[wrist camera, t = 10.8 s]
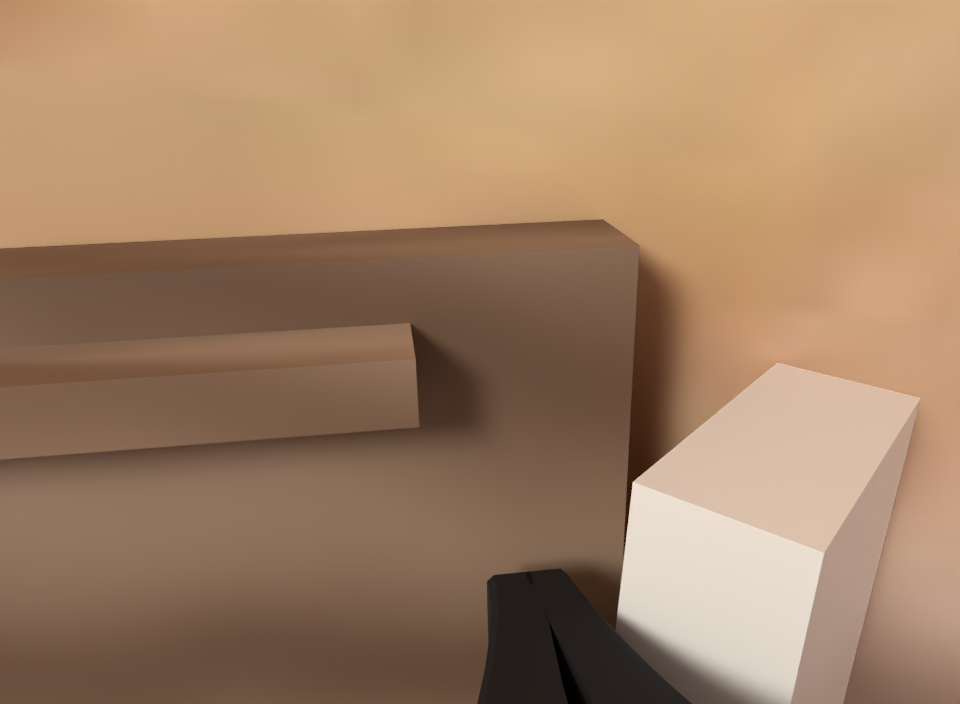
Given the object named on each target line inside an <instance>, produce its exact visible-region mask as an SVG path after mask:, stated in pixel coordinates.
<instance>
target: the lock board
mask: <svg viewBox="0 0 960 704" xmlns="http://www.w3.org/2000/svg"><path fill="white" fill-rule="evenodd" d="M638 265H639V245H638V244H636V243H635V242H634V241H632V240H631V239H629V238H628V237H627V236H625V235H624V234H622V233H621V232H620V231H618V230H617V229H615V228H614V227H613V226H611V225H610V224H608V223H607V222H606V221H604V220H584V221H563V222H543V223H522V224H501V225H481V226H460V227H439V228H419V229H398V230H377V231H356V232H336V233H315V234H294V235H274V236H253V237H232V238H212V239H191V240H170V241H149V242H129V243H108V244H87V245H67V246H46V247H25V248H5V249H0V704H477V702H478V698H479V693H480V689H481V684H482V680H483V675H484V670H485V665H486V658H487V650H488V611H487V581H488V580H489V579H490V578H491V577H492V576H493V575H499V574H509V573H518V572H528V571H538V570H548V569H558V568H561V569H562V570H563V571H564V572H565V573H566V574H567V575H568V576H569V577H570V579H571V580H572V581H573V582H574V583H575V585H576V586H577V587H578V588H579V590H580V591H581V592H582V593H583V594H584V596H585V597H586V598H587V599H588V600H589V601H590V603H591V604H592V605H593V606H594V607H595V608H596V609H597V611H598V612H599V613H600V614H601V615H602V616H603V617H604V619H605V620H606V621H607V622H608V623H609V624H610V625H611V626H612V627H613V628H614V629H616V621H617V612H618V604H619V595H620V587H621V578H622V568H623V549H624V530H625V511H626V492H627V473H628V454H629V435H630V417H631V398H632V379H633V360H634V341H635V322H636V303H637V284H638Z"/></svg>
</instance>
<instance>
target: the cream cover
mask: <svg viewBox="0 0 960 704" xmlns="http://www.w3.org/2000/svg"><path fill="white" fill-rule="evenodd" d="M920 399H921V398H919V397H915V396H911V395H907V394H903V393H898V392H894V391H890V390H886V389H882V388H878V387H874V386H870V385H866V384H862V383H858V382H854V381H850V380H846V379H842V378H838V377H834V376H830V375H826V374H822V373H817V372H813V371H809V370H805V369H801V368H797V367H793V366H789V365H785V364H781V363H776V364H775V365H774V366H772V367H771V368H770V369H769V370H768V371H766V372H765V373H764V374H763V375H762V376H760V377H759V378H758V379H757V380H756V381H754V382H753V383H752V384H751V385H749V386H748V387H747V388H746V389H745V390H743V391H742V392H741V393H740V394H739V395H737V396H736V397H735V398H734V399H733V400H731V401H730V402H729V403H728V404H726V405H725V406H724V407H723V408H722V409H720V410H719V411H718V412H717V413H716V414H714V415H713V416H712V417H711V418H710V419H708V420H707V421H706V422H705V423H703V424H702V425H701V426H700V427H699V428H697V429H696V430H695V431H694V432H693V433H691V434H690V435H689V436H688V437H687V438H685V439H684V440H683V441H682V442H681V443H679V444H678V445H677V446H676V447H674V448H673V449H672V450H671V451H670V452H668V453H667V454H666V455H665V456H664V457H662V458H661V459H660V460H659V461H658V462H656V463H655V464H654V465H653V466H651V467H650V468H649V469H648V470H647V471H645V472H644V473H643V474H642V475H641V476H639V477H638V478H637V479H636V480H635V481H633V484H632V493H631V501H630V510H629V518H628V527H627V536H626V544H625V553H624V561H623V570H622V578H621V587H620V595H619V604H618V612H617V621H616V629H615V631H616V632H617V633H618V634H619V635H620V636H621V637H622V638H623V639H624V640H625V641H626V642H627V643H628V644H629V645H630V646H631V647H632V648H633V649H634V650H635V651H636V652H637V653H638V654H639V655H640V656H641V657H642V658H643V659H644V660H645V661H646V662H647V663H648V664H649V665H650V666H651V667H652V668H653V669H654V670H655V671H656V672H657V673H658V674H659V675H661V676H662V677H663V678H664V679H665V680H666V681H667V682H668V683H669V684H670V685H671V686H673V687H674V688H675V689H676V690H677V691H678V692H679V693H680V694H682V695H683V696H684V697H685V698H686V699H687V700H688V701H690V702H691V703H692V704H843V702H844V698H845V694H846V690H847V687H848V683H849V679H850V675H851V671H852V667H853V663H854V659H855V655H856V651H857V647H858V643H859V639H860V635H861V631H862V627H863V624H864V620H865V616H866V612H867V608H868V604H869V600H870V596H871V592H872V588H873V584H874V580H875V576H876V572H877V568H878V564H879V561H880V557H881V553H882V549H883V545H884V541H885V537H886V533H887V529H888V525H889V521H890V517H891V513H892V509H893V505H894V502H895V498H896V494H897V490H898V486H899V482H900V478H901V474H902V470H903V466H904V462H905V458H906V454H907V450H908V446H909V442H910V439H911V435H912V431H913V427H914V423H915V419H916V415H917V411H918V407H919V403H920Z"/></svg>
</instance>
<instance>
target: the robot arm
mask: <svg viewBox="0 0 960 704" xmlns="http://www.w3.org/2000/svg"><path fill="white" fill-rule="evenodd" d="M487 611H488V650H487V658H486V665H485V670H484V675H483V680H482V684H481V689H480V693H479V698H478V702H477V704H692V703H691V702H690V701H688V700H687V699H686V698H685V697H684V696H683V695H682V694H680V693H679V692H678V691H677V690H676V689H675V688H674V687H673V686H671V685H670V684H669V683H668V682H667V681H666V680H665V679H664V678H663V677H662V676H661V675H659V674H658V673H657V672H656V671H655V670H654V669H653V668H652V667H651V666H650V665H649V664H648V663H647V662H646V661H645V660H644V659H643V658H642V657H641V656H640V655H639V654H638V653H637V652H636V651H635V650H634V649H633V648H632V647H631V646H630V645H629V644H628V643H627V642H626V641H625V640H624V639H623V638H622V637H621V636H620V635H619V634H618V633H617V632H616V631H615V629H614V628H613V627H612V626H611V625H610V624H609V623H608V622H607V621H606V620H605V619H604V617H603V616H602V615H601V614H600V613H599V612H598V611H597V609H596V608H595V607H594V606H593V605H592V604H591V603H590V601H589V600H588V599H587V598H586V597H585V596H584V594H583V593H582V592H581V591H580V590H579V588H578V587H577V586H576V585H575V583H574V582H573V581H572V580H571V579H570V577H569V576H568V575H567V574H566V573H565V572H564V571H563V570H562V569H561V568H558V569H548V570H538V571H528V572H518V573H509V574H499V575H493V576H492V577H491V578H490V579H489V580H488V581H487Z"/></svg>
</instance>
